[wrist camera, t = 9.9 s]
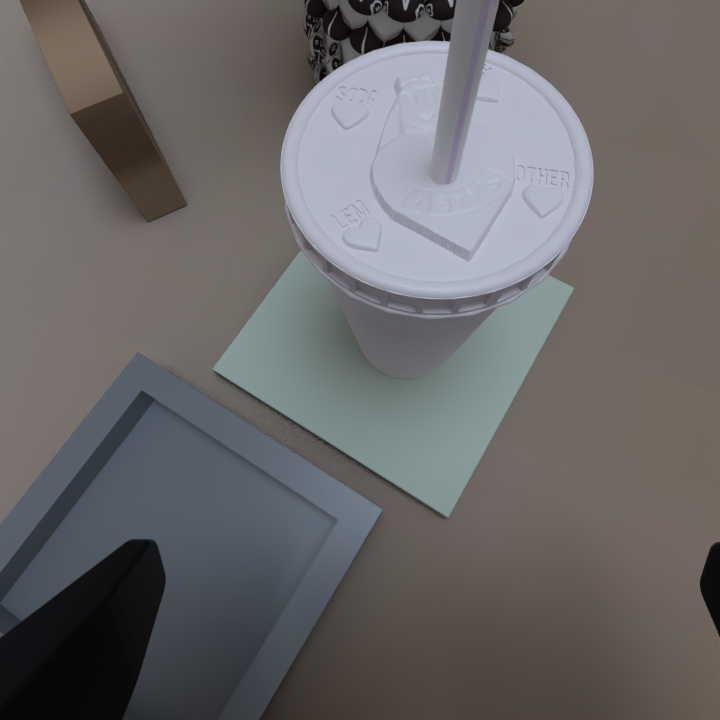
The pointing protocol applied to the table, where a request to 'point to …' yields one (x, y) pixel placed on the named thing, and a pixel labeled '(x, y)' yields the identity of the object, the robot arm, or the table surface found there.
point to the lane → (103, 102)
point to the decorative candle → (385, 27)
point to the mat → (388, 383)
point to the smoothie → (433, 188)
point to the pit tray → (189, 540)
